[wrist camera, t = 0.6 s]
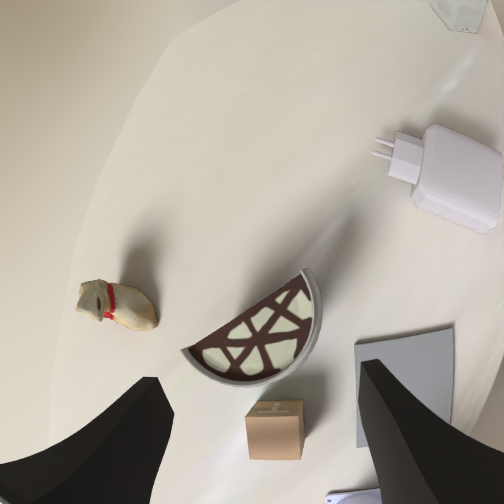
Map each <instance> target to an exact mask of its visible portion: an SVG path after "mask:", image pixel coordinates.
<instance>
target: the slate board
mask: <svg viewBox="0 0 504 504" xmlns="http://www.w3.org/2000/svg"><path fill="white" fill-rule="evenodd" d="M354 348H355V367H356V395H357V448H360V447H368V443H367V439H366V436H365V433H364V430H363V426H362V421H361V416H360V411H359V405H358V394H359V382H360V366H361V362H362V361H367V360H373V359H379V360H380V361H381V362H382V363H383V364H384V365H385V366H386V367H387V368H388V369H389V371H390V372H391V373H392V374H393V375H394V376H395V377H396V378H397V379H398V380H399V381H400V382H401V383H402V384H403V385H404V386H405V387H406V388H407V389H408V390H409V391H410V392H411V393H412V394H413V395H414V396H415V397H416V398H417V399H418V400H420V401H421V402H422V403H423V404H424V405H425V406H426V407H428V408H429V409H430V410H431V411H432V412H434V413H435V414H436V415H437V416H439V417H440V418H441V419H443V420H444V421H445V422H447V423H448V424H450V417H451V406H452V391H453V328H448V329H443V330H438V331H433V332H428V333H423V334H418V335H413V336H407V337H402V338H396V339H390V340H383V341H377V342H370V343H363V344H356V345H354Z"/></svg>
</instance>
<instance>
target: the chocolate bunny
mask: <svg viewBox="0 0 504 504" xmlns="http://www.w3.org/2000/svg"><path fill="white" fill-rule="evenodd" d="M76 312H77V313H79V314H82V315H87V316H90V317H91V318H92V319H94V320H97V321H102V319H103V317H104V318H110V319H112V320H114V321H115V322H117V323H118V324H120V325H122V326H124V327H127V328H129V329H133V330H137V331H144V330H151V329H154V328H155V327H157V326H158V321H157V319H156V317H155V309H154V306H153V304H152V303H151V301H150V300H149V299H148V298H147V297H146V296H145V294H144V293H142V292H141V291H140V290H138V289H137V288H135V287H129V286H123V285H122V286H121V285H119V284H117V283H107V282H106V281H104V280H101V279H98V280H93V281H88V282H84V283H82V284H81V285H80V292H79V301H78V303H77V306H76Z"/></svg>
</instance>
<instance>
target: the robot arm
mask: <svg viewBox="0 0 504 504" xmlns="http://www.w3.org/2000/svg"><path fill="white" fill-rule="evenodd" d="M358 405H359V411H360V416H361V421H362V426H363V430H364V433H365V436H366V439H367V443H368V446H369V449H370V453H371V456H372V459H373V463H374V466H375V469H376V473H377V477H378V481H379V486H380V488H377V489H371V490H363V491H355V492H346V493H335V494H327V495H326V496H325V504H504V453H503V452H501V451H498V450H496V449H493V448H491V447H489V446H487V445H485V444H482V443H480V442H479V441H477V440H475V439H473V438H471V437H469V436H467V435H465V434H464V433H462V432H461V431H459V430H457V429H456V428H454V427H453V426H451V425H450V424H448V423H447V422H445V421H444V420H443V419H441V418H440V417H439V416H437V415H436V414H435V413H434V412H432V411H431V410H430V409H429V408H428V407H426V406H425V405H424V404H423V403H422V402H421V401H420V400H418V399H417V398H416V397H415V396H414V395H413V394H412V393H411V392H410V391H409V390H408V389H407V388H406V387H405V386H404V385H403V384H402V383H401V382H400V381H399V380H398V379H397V378H396V377H395V376H394V375H393V374H392V373H391V372H390V371H389V369H388V368H387V367H386V366H385V365H384V364H383V363H382V362H381V361H380V360H379V359H373V360H367V361H362V362H361V366H360V382H359V394H358ZM173 419H174V412H173V410H172V408H171V406H170V403H169V401H168V399H167V397H166V395H165V393H164V391H163V389H162V386H161V384H160V382H159V380H158V377H143V378H141V379H140V380H139V381H138V382H136V383H135V384H134V385H133V386H132V387H131V388H130V389H129V390H127V391H126V392H125V393H124V394H123V395H122V396H121V397H120V398H119V399H117V400H116V401H115V402H114V403H113V404H112V405H111V406H109V407H108V408H107V409H106V410H105V411H104V412H102V413H101V414H100V415H99V416H97V417H96V418H95V419H94V420H92V421H91V422H90V423H88V424H87V425H86V426H85V427H83V428H82V429H80V430H79V431H77V432H76V433H74V434H73V435H71V436H70V437H68V438H66V439H65V440H63V441H61V442H59V443H57V444H55V445H53V446H51V447H50V448H48V449H46V450H44V451H41V452H39V453H36V454H34V455H32V456H29V457H26V458H23V459H19V460H16V461H12V462H8V463H4V464H0V502H2V503H3V504H149V503H150V498H151V493H152V488H153V485H154V481H155V478H156V476H157V473H158V470H159V467H160V464H161V461H162V458H163V456H164V453H165V450H166V447H167V444H168V441H169V438H170V434H171V429H172V424H173ZM328 500H330V501H328Z"/></svg>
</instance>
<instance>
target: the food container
mask: <svg viewBox="0 0 504 504" xmlns="http://www.w3.org/2000/svg"><path fill="white" fill-rule="evenodd" d="M322 316H323V313H322V300H321V295H320V290H319V287H318V285H317V282H316V279H315V277H314V275H313V274H312V272H311V270H310V269H309V268H305V269H304V270H300V275H299V276H297V277H296V278H294V279H292V280H291V281H290V282H289V283H287V284H286V285H285V286H283V287H282V288H280V289H279V290H277V291H276V292H274V293H273V294H271V295H270V296H268V297H267V298H265V299H264V300H262V301H261V302H259V303H258V304H256V305H255V306H253V307H252V308H250V309H248V310H247V311H245V312H244V313H242V314H241V315H239V316H238V317H236V318H235V319H233V320H232V321H230V322H229V323H227V324H226V325H224V326H223V327H221V328H219V329H218V330H216V331H215V332H213V333H212V334H210V335H208V336H207V337H205V338H204V339H202V340H201V341H199V342H197V343H196V344H194V345H192V346H189V347H187V348H184V349H181V350H180V351H181V353H182V354H183V355H184V357H185V358H186V359H187V360H188V362H189V363H190V364H191V365H192V366H193V367H194V368H195V369H197V370H198V371H199V372H200V373H202V374H203V375H205V376H207V377H209V378H210V379H212V380H214V381H217V382H219V383H222V384H225V385H229V386H234V387H245V388H248V387H258V386H262V385H266V384H269V383H273V382H276V381H278V380H280V379H282V378H284V377H286V376H288V375H289V374H291V373H292V372H293V371H295V370H296V369H297V368H298V367H299V366H300V365H301V364H302V363H303V362H304V361H305V360H306V359H307V357H308V356H309V354H310V353H311V352H312V350H313V348H314V346H315V344H316V342H317V340H318V336H319V333H320V330H321V324H322Z"/></svg>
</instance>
